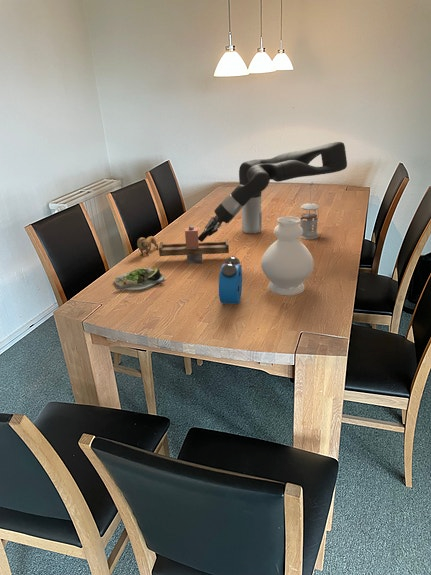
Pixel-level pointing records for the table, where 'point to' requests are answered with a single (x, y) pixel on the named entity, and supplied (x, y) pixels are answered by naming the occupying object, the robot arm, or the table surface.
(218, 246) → the beam
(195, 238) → the rider
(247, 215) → the robot arm
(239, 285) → the alarm clock
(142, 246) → the lion figurine
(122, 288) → the salad plate
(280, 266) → the decorative vase
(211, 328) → the table surface
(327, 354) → the table surface
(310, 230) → the french press
